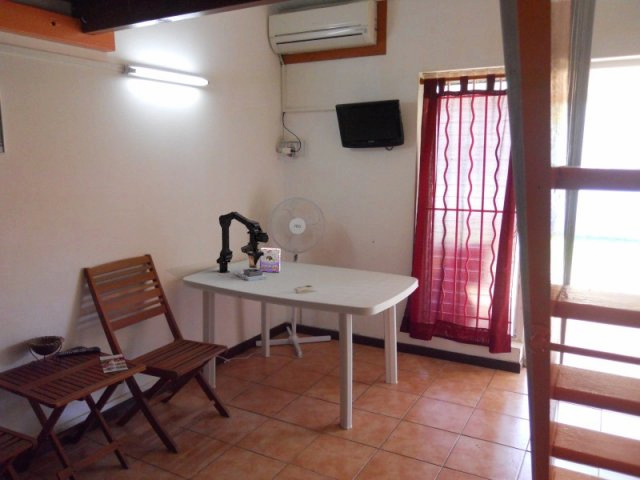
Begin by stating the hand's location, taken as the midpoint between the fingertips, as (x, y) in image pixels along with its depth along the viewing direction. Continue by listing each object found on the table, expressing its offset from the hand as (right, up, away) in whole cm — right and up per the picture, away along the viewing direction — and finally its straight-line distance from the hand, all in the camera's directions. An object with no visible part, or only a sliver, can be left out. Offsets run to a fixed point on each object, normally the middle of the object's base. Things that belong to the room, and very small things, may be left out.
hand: (253, 264), depth 330 cm
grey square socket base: (-1, -9, +3) cm, 9 cm away
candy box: (+9, -6, +22) cm, 25 cm away
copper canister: (0, -2, 0) cm, 2 cm away
